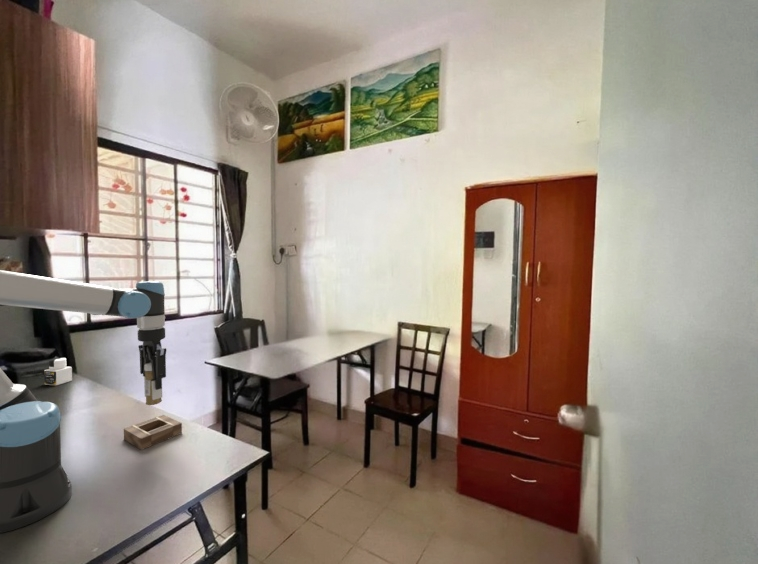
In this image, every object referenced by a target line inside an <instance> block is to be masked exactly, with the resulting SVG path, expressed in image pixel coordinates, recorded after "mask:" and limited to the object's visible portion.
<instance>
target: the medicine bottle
mask: <svg viewBox="0 0 758 564" xmlns="http://www.w3.org/2000/svg"><path fill="white" fill-rule="evenodd" d="M43 379H44V380H43V382H44V384H43V385H45V386H46V385H49V386H59V385H62V384H65V383H69V382H72V381H73V368H72V366H67V358H66V357H56V358H52V359H50V360H48V369H44V370H43Z"/></svg>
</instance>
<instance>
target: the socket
mask: <svg viewBox="0 0 758 564" xmlns="http://www.w3.org/2000/svg"><path fill="white" fill-rule="evenodd" d="M182 424H183V423H182V422H181V421H178V420H177V419H175V418H171V417H169V416H168V415H165V414H162V415H159V416H156V417H153V418H150V419H147V420H145V421H142V422H138V423H136V424H132V425H131V426H128V427H125V428H123V440H124V441H126V442H128V443H130V445H133V446H134V447H136V448H138V449H140V451H141V450H144V449H147V448H149V447H151V446H154V445H156V444H158V443H162V442H164V441H166V440H168V438H169V439H171V438H173V437H176V436H178V435H180V434H179V433H181V434H182V433H183V425H182ZM177 434H178V435H177ZM175 435H176V436H175Z"/></svg>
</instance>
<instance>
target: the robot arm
mask: <svg viewBox="0 0 758 564" xmlns="http://www.w3.org/2000/svg"><path fill="white" fill-rule="evenodd" d="M164 287H165V286H164V283H163V282H161V281H138V282H136V284H135V287H132V288H116V287H110V286H103V285H97V284H92V283H91V284H90V283H84V282H78V281H74V280H73V281H71V280H67V279H66V280H65V279H60V278H59V279H58V278H52V277H47V276H40V275H34V274H27V273H21V272H16V271H15V272H14V271H10V270H3V269H0V305H3V306H11V307H20V308H21V307H22V308H23V307H24V308H30V309H41V310H42V309H43V310H52V311H62V312H71V313H82V314H90V315H91V316H112V317H122V318H126V319H136V325H137V326H136V328H138V330H137V340H138V342H142V344H139V345H138V350H139V368H140V369H139V372H140V374H141V375H142V377H143V381H144V382H143V384H144V387H143V388H144V389H145V370H144V365H145V364H147V363H151V366H152V373H153V379H151V381H152V400H155V399H158V398H161V399H162V398H163V379H165V378H166V377H167V367H166V366H167V365H166V364H167V362H166V361H167V360H166V359H167V357H166V356H167V348H166V347H164V348H162V340H164V339H165V338H166V328H165V327H164V326H166V322H165V321H166V320H165V319H166V316H165V296H166V295H165V288H164ZM144 397H145V398H146V392H145V391H144ZM61 421H62V415H61V412H60V408H59V406H58V405H57V404H56V403H53V402H50V401H40V400H38V399H37V398H36V396H35V395H34V394H33V393H32V392H31V390H30V389H29V388H28V387H27V385H26V384H21V383H13V382H12V380H11V379H10V378H9V377H8V376H7V374H6V373H5V372H4V370H3V369H2V368H1V367H0V534H2V533H6V532H10V531H14V530H17V529H21V528H23V527H25V526H29V525H31V524H34V523H36V522H38V521H40V520H42V519H44V518H46V517H47V516H50V515H51V514H53V513H54V512H56V511H58V510H59V509H61V508H62V507H63V506H64V505H65V504H66V503H67V502H68V501H69V500H70V498H71V497H72V495H73V485H72V482H71V480H70V479H69V478H68V475H67V473H66V471H65V470H64V467H63V466H62V449H61V448H62V446H61V445H62V443H61Z"/></svg>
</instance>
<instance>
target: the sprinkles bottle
mask: <svg viewBox="0 0 758 564" xmlns="http://www.w3.org/2000/svg"><path fill="white" fill-rule="evenodd" d="M144 370H145V388H144V393H145V392H146V397H145V405H147V406H154V405H158V404H160V403H161V402H162V401H163V400H162V398H158V399H155V400H152V381H151V379H153V373H152V366H151V363H147V364H145V365H144Z"/></svg>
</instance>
